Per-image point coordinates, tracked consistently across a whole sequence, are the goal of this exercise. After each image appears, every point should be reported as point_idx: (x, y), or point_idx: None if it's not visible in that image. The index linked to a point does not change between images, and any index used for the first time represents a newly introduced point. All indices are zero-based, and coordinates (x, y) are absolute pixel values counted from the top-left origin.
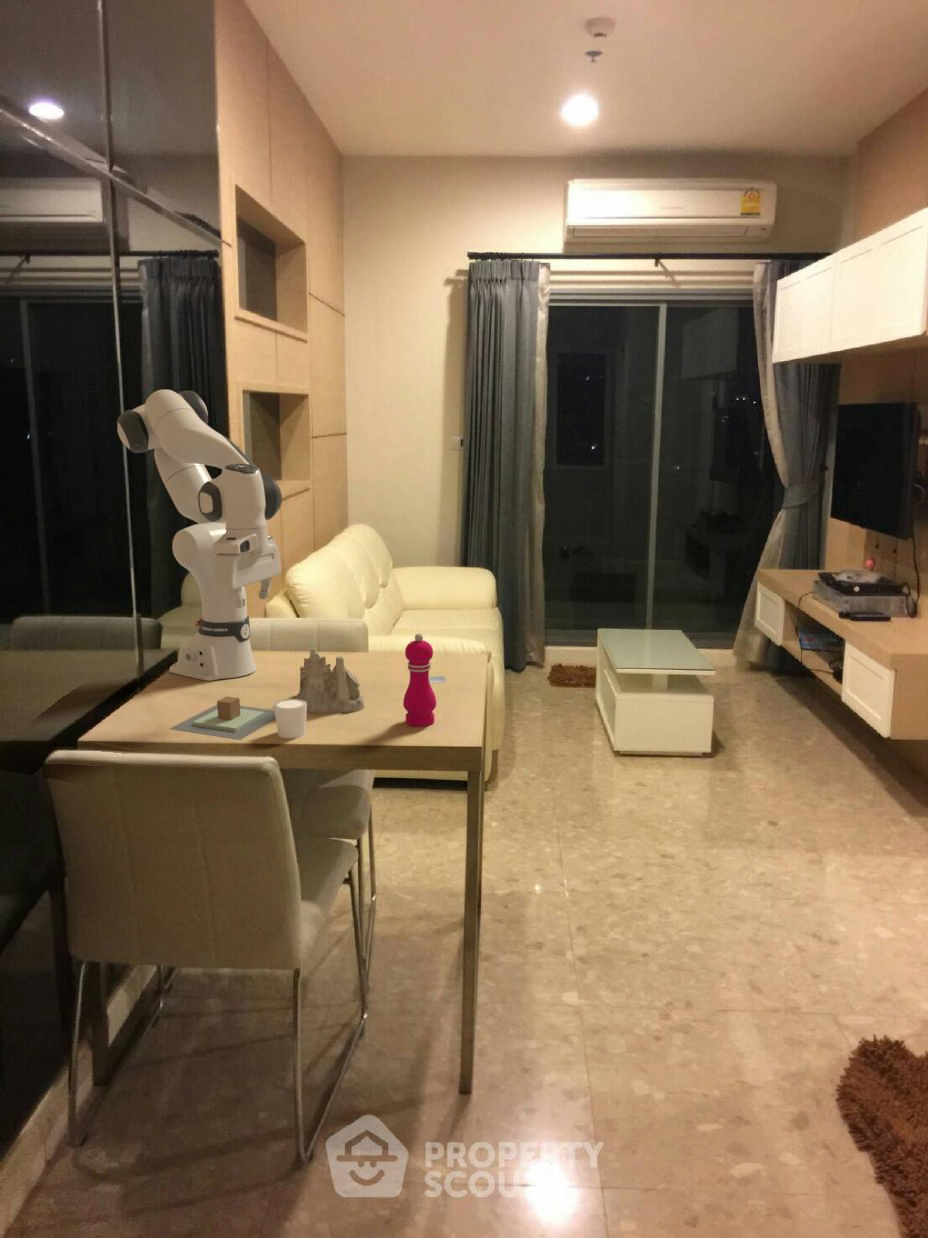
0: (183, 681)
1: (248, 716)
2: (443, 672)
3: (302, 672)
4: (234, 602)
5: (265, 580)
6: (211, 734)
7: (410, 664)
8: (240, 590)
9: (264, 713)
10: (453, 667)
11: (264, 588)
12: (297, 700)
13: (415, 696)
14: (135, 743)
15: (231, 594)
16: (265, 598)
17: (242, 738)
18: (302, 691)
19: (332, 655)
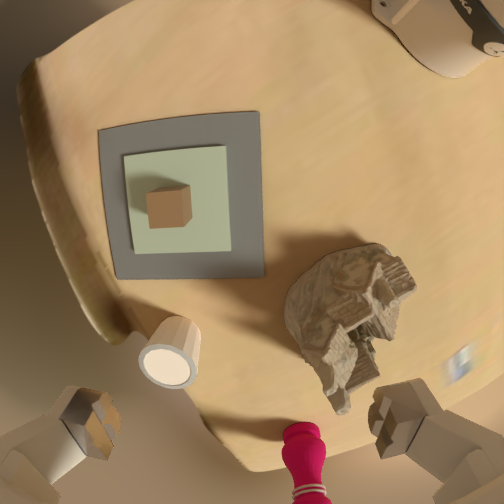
0: None
1: (194, 236)
2: (483, 362)
3: (355, 295)
4: (55, 404)
5: (446, 499)
6: (109, 220)
7: (299, 494)
8: (48, 498)
9: (229, 250)
10: (497, 359)
11: (425, 448)
12: (190, 369)
13: (286, 465)
14: (46, 131)
15: (10, 438)
16: (368, 421)
17: (122, 279)
18: (301, 308)
19: None
